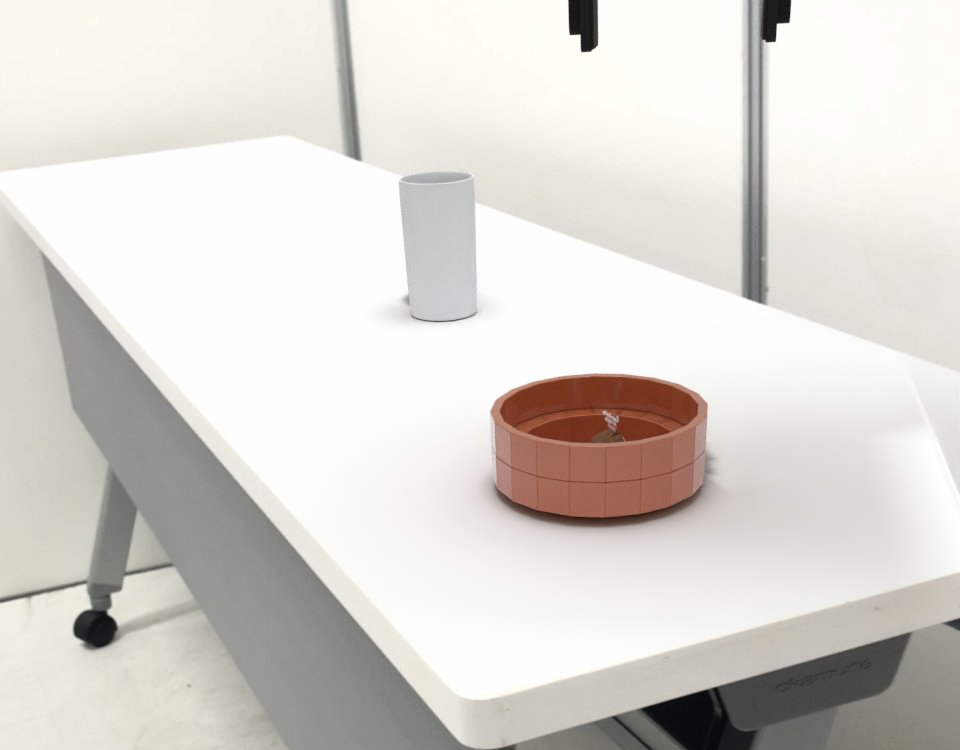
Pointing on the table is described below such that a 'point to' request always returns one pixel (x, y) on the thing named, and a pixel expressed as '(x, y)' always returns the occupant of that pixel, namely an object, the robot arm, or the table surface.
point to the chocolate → (608, 432)
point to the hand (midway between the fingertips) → (677, 45)
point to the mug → (440, 243)
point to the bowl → (598, 444)
